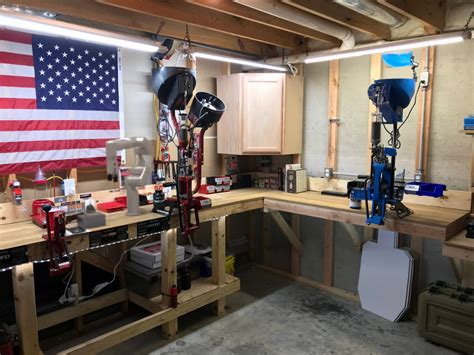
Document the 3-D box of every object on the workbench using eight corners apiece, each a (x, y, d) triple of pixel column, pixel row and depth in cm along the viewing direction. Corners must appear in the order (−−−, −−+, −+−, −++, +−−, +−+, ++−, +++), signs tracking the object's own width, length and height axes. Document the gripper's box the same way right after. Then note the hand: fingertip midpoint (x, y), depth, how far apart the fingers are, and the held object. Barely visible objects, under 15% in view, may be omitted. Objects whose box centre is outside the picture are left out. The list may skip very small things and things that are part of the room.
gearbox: (99, 222, 283) (98, 209, 282) (106, 225, 274) (105, 211, 273) (77, 226, 272) (76, 212, 271) (83, 229, 264) (82, 215, 262)
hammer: (57, 231, 274) (97, 218, 294) (54, 216, 272) (94, 204, 292) (55, 229, 278) (94, 217, 298) (51, 215, 275) (91, 203, 295)
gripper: (121, 158, 274) (122, 182, 276) (111, 157, 287) (112, 179, 289) (111, 159, 269) (112, 183, 271) (101, 157, 282) (103, 180, 284)
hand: (112, 181), depth 280 cm, fingers open, 9 cm apart
